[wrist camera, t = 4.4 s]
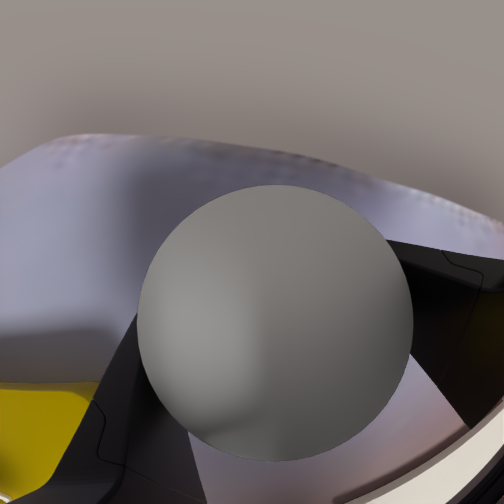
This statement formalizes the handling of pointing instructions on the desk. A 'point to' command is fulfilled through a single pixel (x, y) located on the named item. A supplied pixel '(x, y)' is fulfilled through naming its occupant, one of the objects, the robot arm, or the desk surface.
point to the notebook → (445, 467)
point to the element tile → (37, 431)
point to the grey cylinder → (275, 323)
